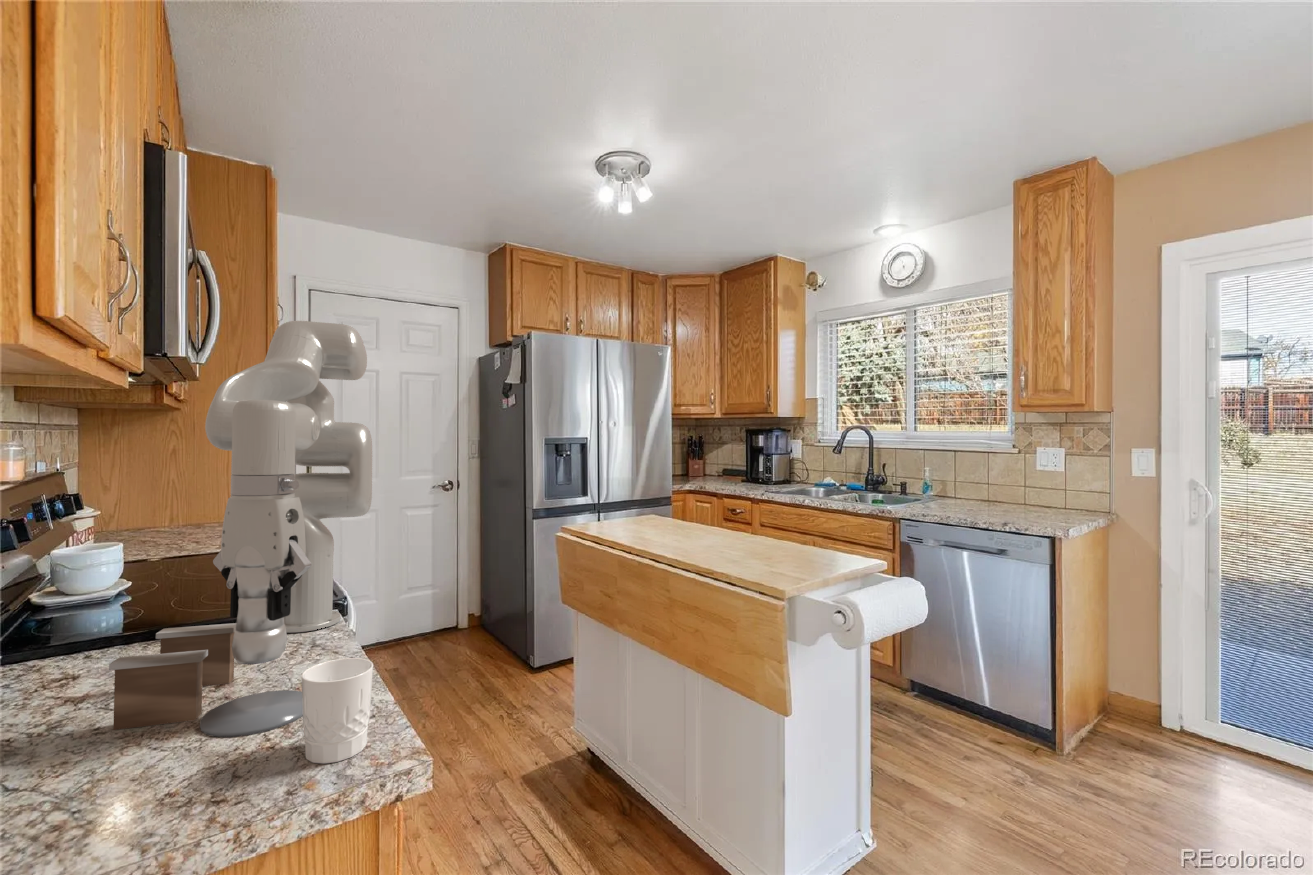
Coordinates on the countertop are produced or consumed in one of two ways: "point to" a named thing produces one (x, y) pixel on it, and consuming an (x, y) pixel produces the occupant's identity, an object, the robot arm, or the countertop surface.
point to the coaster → (253, 714)
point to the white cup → (336, 708)
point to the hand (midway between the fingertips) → (260, 615)
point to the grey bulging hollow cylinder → (255, 612)
